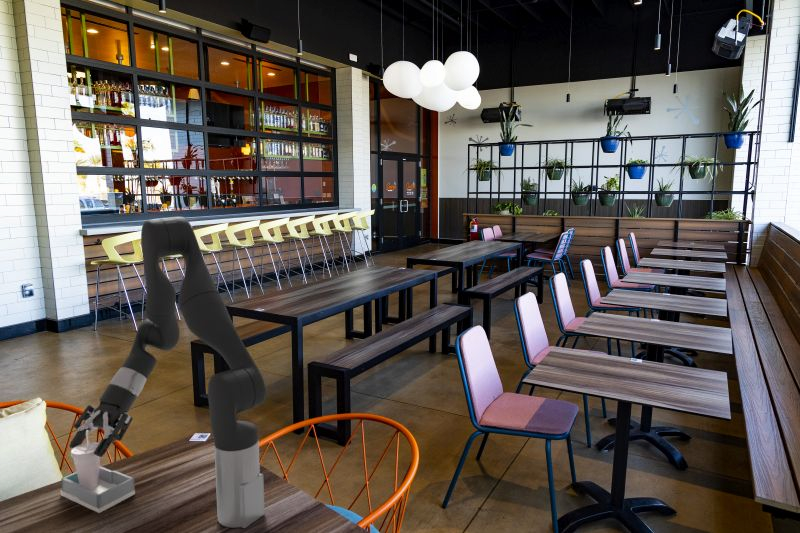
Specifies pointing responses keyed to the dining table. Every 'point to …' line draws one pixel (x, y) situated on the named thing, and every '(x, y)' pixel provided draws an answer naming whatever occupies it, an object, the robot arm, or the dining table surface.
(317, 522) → the dining table surface
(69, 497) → the grey tray
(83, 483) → the smoothie
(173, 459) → the dining table surface
